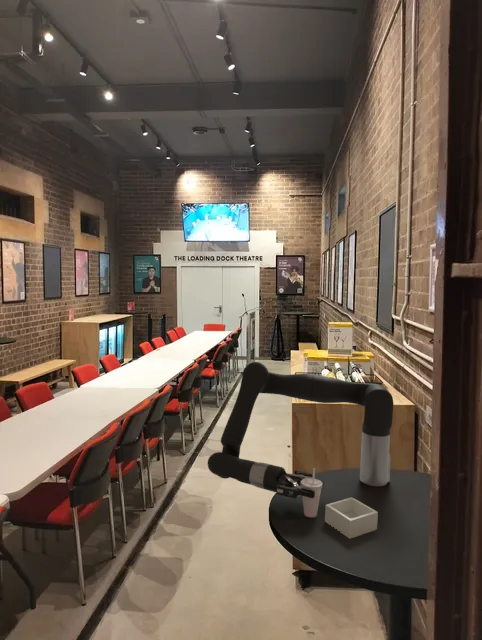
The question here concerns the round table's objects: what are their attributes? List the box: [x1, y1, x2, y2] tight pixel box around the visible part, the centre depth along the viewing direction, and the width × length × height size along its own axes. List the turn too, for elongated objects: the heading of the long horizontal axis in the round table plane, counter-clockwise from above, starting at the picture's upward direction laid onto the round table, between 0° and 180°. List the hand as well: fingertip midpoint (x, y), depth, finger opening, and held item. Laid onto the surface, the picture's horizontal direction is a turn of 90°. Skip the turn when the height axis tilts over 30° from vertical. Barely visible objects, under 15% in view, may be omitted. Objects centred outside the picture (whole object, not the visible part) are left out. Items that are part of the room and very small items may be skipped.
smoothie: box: [300, 467, 324, 518], centre depth 138 cm, size 6×6×14 cm
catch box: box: [324, 497, 379, 539], centre depth 132 cm, size 10×10×5 cm
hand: (318, 489), depth 137 cm, fingers open, 6 cm apart
